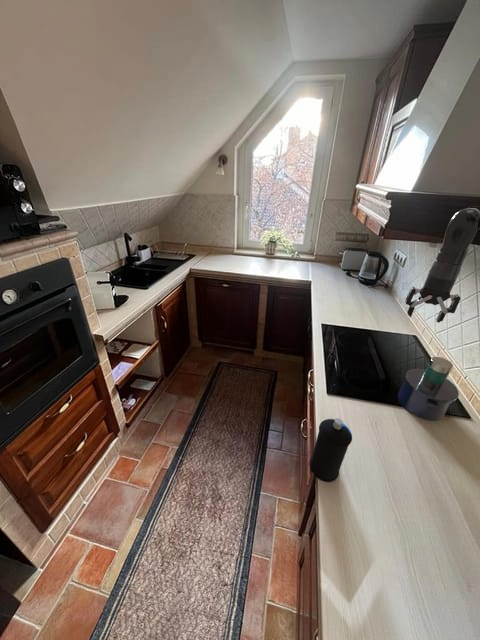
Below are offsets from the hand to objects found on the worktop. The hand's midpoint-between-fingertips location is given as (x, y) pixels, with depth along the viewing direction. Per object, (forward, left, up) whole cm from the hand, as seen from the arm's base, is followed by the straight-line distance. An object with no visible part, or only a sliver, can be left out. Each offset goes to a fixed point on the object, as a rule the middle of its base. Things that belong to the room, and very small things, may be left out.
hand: (423, 318), depth 90 cm
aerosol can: (+20, +50, -30) cm, 62 cm away
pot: (-8, +9, -30) cm, 32 cm away
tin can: (-8, +9, -20) cm, 23 cm away
